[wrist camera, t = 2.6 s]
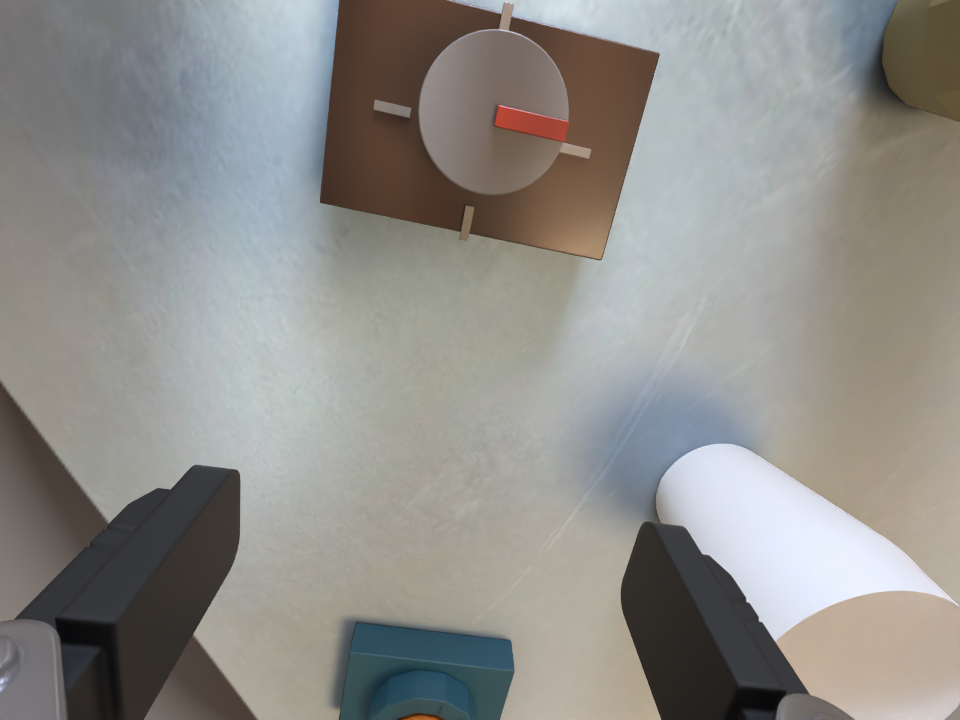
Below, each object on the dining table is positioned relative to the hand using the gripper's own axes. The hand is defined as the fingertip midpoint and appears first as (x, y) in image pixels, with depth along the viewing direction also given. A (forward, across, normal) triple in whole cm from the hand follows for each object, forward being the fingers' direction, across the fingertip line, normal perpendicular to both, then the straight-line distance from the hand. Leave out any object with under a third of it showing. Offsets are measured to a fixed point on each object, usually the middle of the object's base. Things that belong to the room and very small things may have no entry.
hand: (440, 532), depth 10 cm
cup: (+17, -16, +8) cm, 25 cm away
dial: (+14, 0, -8) cm, 16 cm away
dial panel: (+17, 0, -8) cm, 19 cm away
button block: (+16, -2, +25) cm, 30 cm away
